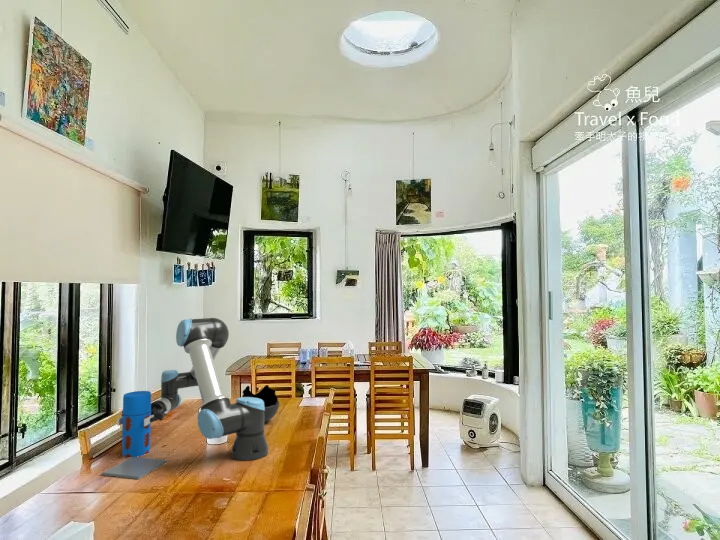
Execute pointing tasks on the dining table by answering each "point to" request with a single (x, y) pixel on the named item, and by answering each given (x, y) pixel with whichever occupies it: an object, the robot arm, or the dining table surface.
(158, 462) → the slate tile
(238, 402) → the robot arm
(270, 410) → the coal bowl
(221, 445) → the dining table surface
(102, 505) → the dining table surface
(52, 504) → the dining table surface
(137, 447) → the thermos
